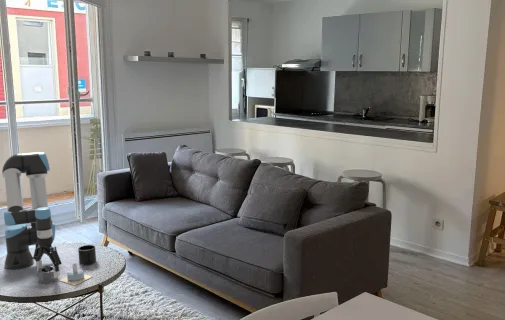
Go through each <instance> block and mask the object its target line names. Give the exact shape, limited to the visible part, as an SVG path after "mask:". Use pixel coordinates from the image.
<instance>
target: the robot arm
mask: <svg viewBox="0 0 505 320" xmlns="http://www.w3.org/2000/svg"><path fill="white" fill-rule="evenodd" d="M49 171H51V170H50V163H49V159H48V157H47V154H46V152H43V151H41V152H40V151H36V152H26V153H25V152H24V153H23V152H22V153H15V154H12V155H11V156H10V157H9V158H8V159H6V161H5V163H4V164H3V166H2V177H3V178H4V183H5V184H4V185H5V195H6V207H7V211H4V213H3V219H4V225H5V226H9V227H6V229H5V230H4V234H5V235H4V239H5V245H6V256H5V260H4V268H6V269H8V270H17V269H19V270H20V269H24V268H27V267H29V266H31V265H33V264H34V261H35V265H36V272H37V274H38V270H39V269H40V268H43V260H42V259H43V258H42V257H43V256H44V254H45V255H46V256H47V257H48V258H49V259H50V261H51V263H52V264H53V265H52V266H53V272H54V278H56V277H58V278H59V277H60V265H62V260H61V258H60V256H59V254H58V253H59V252H58V251H57V246H53V245H52V244H54V243H53V242H54V241H55V237H56V223H55V222H54V221H53V219H52V213H51V208H50V207H49V205H48V195H47V184H46V177H47V175H48V172H49ZM22 174H25V176H26V178H28V179H29V188H30V189H29V191H30V199H31V201H30V202H31V208H27V209H24V206H23V205H24V204H23V196H22V188H21V187H22V186H21V176H22ZM28 224H30V225H28ZM30 246H35V249H34V254H33V255H32V253H31V251H30Z"/></svg>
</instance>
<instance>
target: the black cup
mask: <svg viewBox="0 0 505 320" xmlns="http://www.w3.org/2000/svg"><path fill="white" fill-rule="evenodd" d="M77 250H78V252H77V253H78V263H79V265H80V266H90V265H93V264H96V262H97V254H96V253H97V252H96V246H95V245H92V244H86V245H82V246H79V247H78V249H77Z"/></svg>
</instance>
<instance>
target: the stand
mask: <svg viewBox="0 0 505 320" xmlns="http://www.w3.org/2000/svg"><path fill="white" fill-rule="evenodd" d="M50 266H51V265H49V264H46V265H45V266H44V267H45V272H49V271H50Z"/></svg>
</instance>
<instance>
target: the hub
mask: <svg viewBox="0 0 505 320" xmlns="http://www.w3.org/2000/svg"><path fill="white" fill-rule="evenodd" d="M92 278H93V276H92V275H88V274H85V273H84V270H82V269H78V263H77V262H73V263H72V270H70V271H68V272H67V275H66V276H65V277H63V278H61V279H58V281H59V282H62V283H64V282H65V284H69V285H71V286H77V285H78V284H81V283H83V282H85V281H87V280H90V279H92Z"/></svg>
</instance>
